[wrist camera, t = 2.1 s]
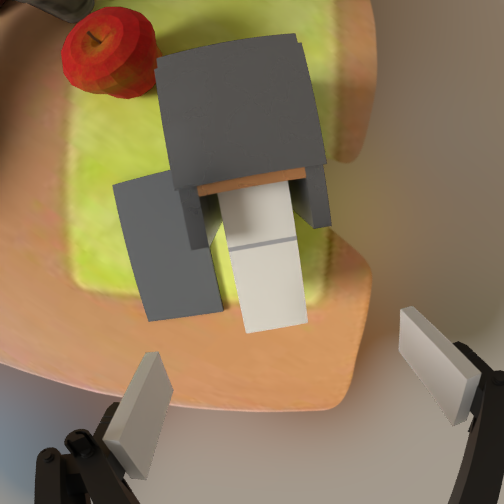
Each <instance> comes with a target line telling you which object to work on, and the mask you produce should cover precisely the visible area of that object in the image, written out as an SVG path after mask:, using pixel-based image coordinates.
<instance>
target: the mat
mask: <svg viewBox="0 0 504 504" xmlns="http://www.w3.org/2000/svg"><path fill="white" fill-rule="evenodd" d="M112 186H113V191H114V196H115V200H116V205H117V209H118V214H119V218H120V223H121V227H122V231H123V235H124V239H125V243H126V247H127V251H128V255H129V258H130V262H131V266H132V269H133V273H134V276H135V280H136V283H137V286H138V290H139V293H140V296H141V299H142V303H143V306H144V309H145V312H146V315H147V318H148V321H149V322H150V321H158V320H166V319H173V318H181V317H188V316H195V315H202V314H209V313H216V312H222V311H223V310H224V309H223V304H222V300H221V296H220V292H219V287H218V283H217V278H216V274H215V270H214V265H213V261H212V256H211V251H210V247H208V248H202V249H197V250H192V251H191V246H190V242H189V237H188V233H187V228H186V224H185V219H184V215H183V210H182V205H181V200H180V195H179V190H177V191H175V190H174V185H173V180H172V174H171V170H168V171H164V172H160V173H156V174H152V175H148V176H144V177H140V178H137V179H133V180H129V181H126V182H122V183H118V184H115V185H112Z"/></svg>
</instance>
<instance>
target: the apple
mask: <svg viewBox="0 0 504 504" xmlns="http://www.w3.org/2000/svg"><path fill="white" fill-rule="evenodd" d="M61 56H62V63H63V71H64V75H65V76H66V77H67V79H68V80H69V82H70V83H71V84H72V85H73V86H75V87H77V88H79V89H81V90H83V91H86V92H90V93H93V94H108V95H111V96H114V97H116V98H124V99H130V98H134V97H139V96H141V95H143V94H144V93H146V92H147V91H148V90H150V89H151V88H152V87H153V86H154V85H155V83H156V79H155V72H154V69H156V68H158V67H157V59H156V58H159V57H162V53H161V51H160V49H159V48H158V46H157V44H156V39H155V31H154V29H153V27H152V24H151V22H150V21H149V20H148V19H147V18H146V17H145V16H144V15H142V14H141V13H139V12H137V11H134V10H131V9H128V8H123V7H104V8H102V9H99V10H97V11H95V12H93V13H91V14H89V15H88V16H86V17H85V18H84V19H82V20H81V21H80V22H78V23H77V24H76V25H75V27H74V28H73V29H72V30H71V32H70V33H69V34H68V36H67V37H66V40H65V42H64V45H63V48H62V50H61Z"/></svg>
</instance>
